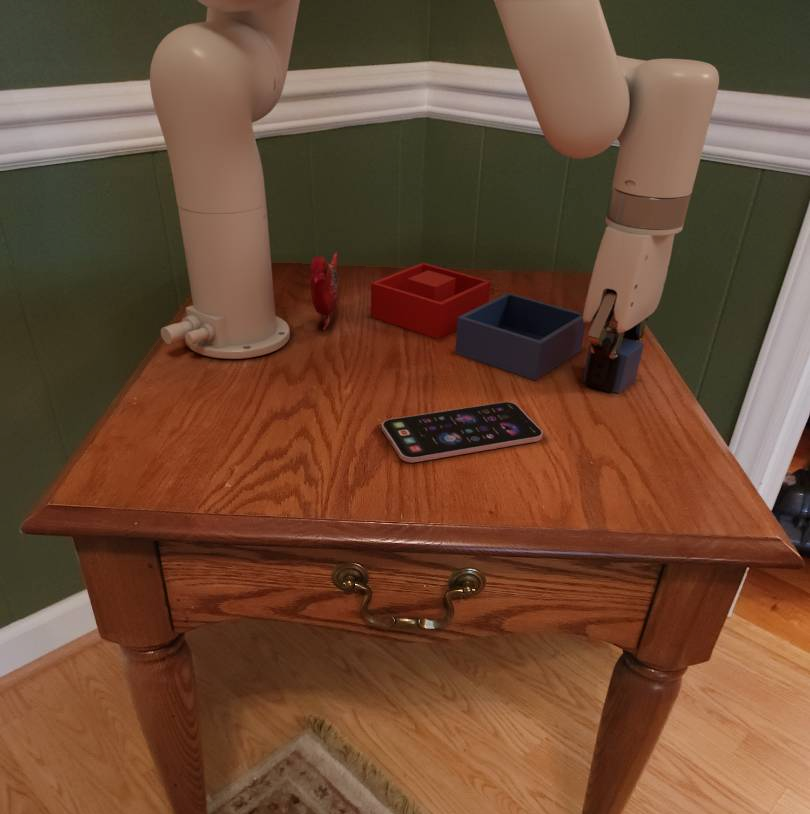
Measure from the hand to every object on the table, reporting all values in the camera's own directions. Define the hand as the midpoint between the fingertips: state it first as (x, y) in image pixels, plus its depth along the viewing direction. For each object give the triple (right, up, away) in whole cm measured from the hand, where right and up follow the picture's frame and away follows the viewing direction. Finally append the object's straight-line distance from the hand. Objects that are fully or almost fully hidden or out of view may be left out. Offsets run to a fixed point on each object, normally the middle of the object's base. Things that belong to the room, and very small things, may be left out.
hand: (609, 378), depth 83 cm
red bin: (-20, +11, +14) cm, 27 cm away
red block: (-20, +12, +14) cm, 27 cm away
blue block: (0, 0, 0) cm, 0 cm away
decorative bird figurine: (-33, +10, +12) cm, 37 cm away
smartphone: (-18, -8, -10) cm, 22 cm away
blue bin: (-9, +4, +6) cm, 12 cm away
